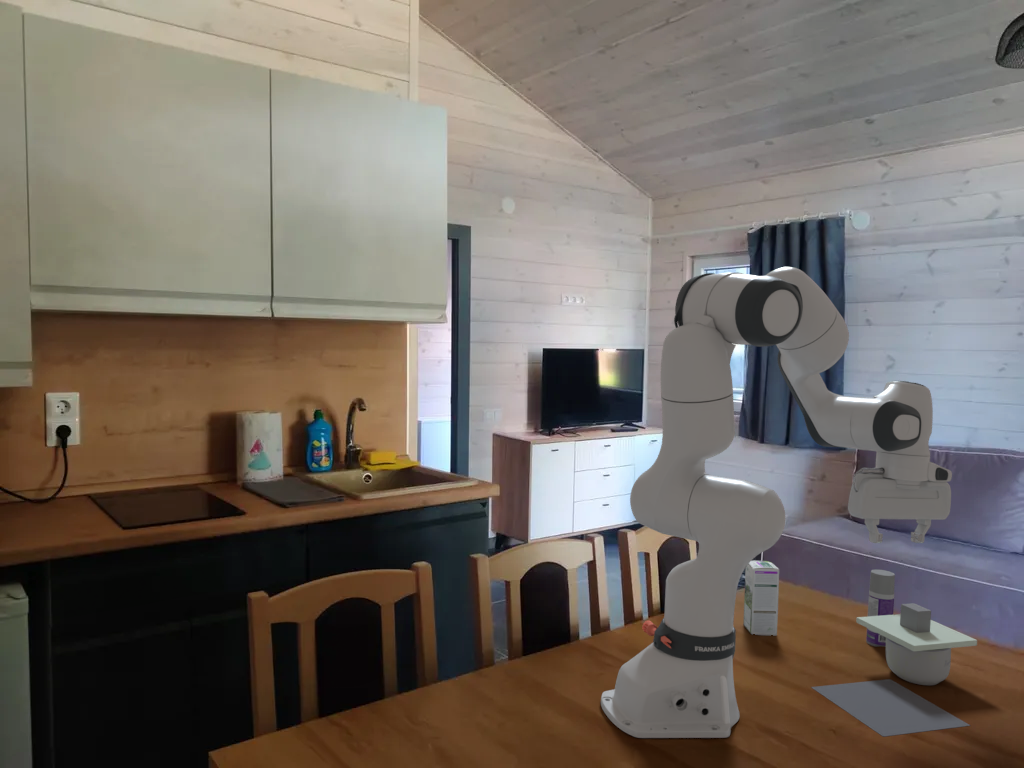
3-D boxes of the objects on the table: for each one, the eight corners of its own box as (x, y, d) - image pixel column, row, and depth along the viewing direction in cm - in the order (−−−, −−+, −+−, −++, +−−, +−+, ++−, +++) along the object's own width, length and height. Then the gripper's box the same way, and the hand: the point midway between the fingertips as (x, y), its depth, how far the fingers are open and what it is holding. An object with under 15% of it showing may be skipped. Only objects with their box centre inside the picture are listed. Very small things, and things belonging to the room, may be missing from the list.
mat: (883, 739, 113) (883, 736, 113) (810, 689, 129) (810, 687, 129) (970, 727, 118) (970, 725, 118) (889, 681, 134) (890, 679, 134)
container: (892, 642, 153) (896, 572, 152) (890, 650, 149) (894, 577, 148) (867, 637, 155) (871, 567, 155) (864, 644, 151) (868, 573, 151)
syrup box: (777, 636, 154) (781, 568, 153) (749, 635, 154) (753, 567, 154) (768, 626, 160) (772, 560, 159) (741, 625, 160) (745, 559, 159)
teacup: (959, 695, 129) (961, 651, 129) (892, 688, 131) (895, 644, 131) (930, 663, 143) (933, 623, 142) (871, 657, 145) (873, 617, 145)
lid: (913, 651, 128) (915, 623, 128) (856, 622, 141) (857, 597, 141) (976, 645, 132) (978, 618, 132) (914, 617, 145) (916, 593, 145)
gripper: (867, 469, 130) (862, 546, 130) (959, 472, 135) (954, 546, 136) (842, 464, 136) (837, 538, 136) (931, 467, 142) (926, 538, 142)
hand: (896, 542), depth 136 cm, fingers open, 8 cm apart
